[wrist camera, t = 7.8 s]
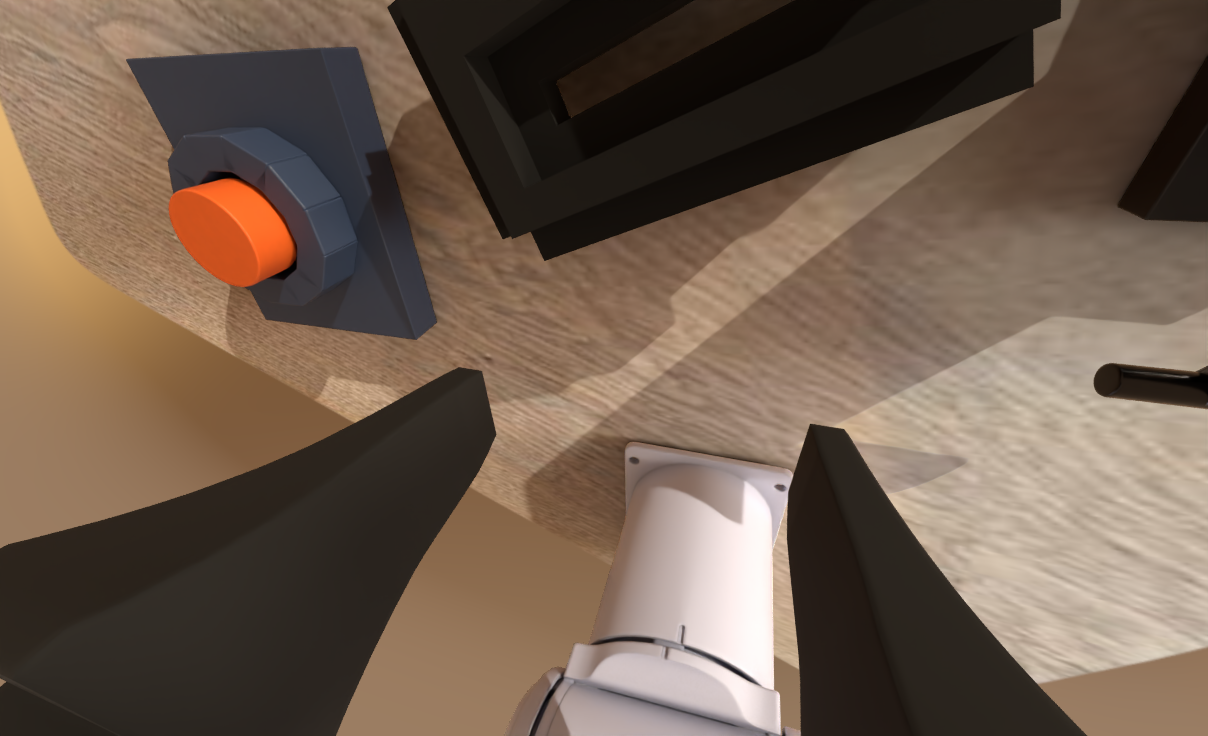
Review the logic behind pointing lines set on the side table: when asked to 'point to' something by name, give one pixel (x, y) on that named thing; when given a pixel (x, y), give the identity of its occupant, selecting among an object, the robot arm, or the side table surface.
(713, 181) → the tool
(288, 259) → the button
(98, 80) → the side table surface
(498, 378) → the side table surface
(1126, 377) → the switch lever
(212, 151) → the button box
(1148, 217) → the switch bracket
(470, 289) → the side table surface
